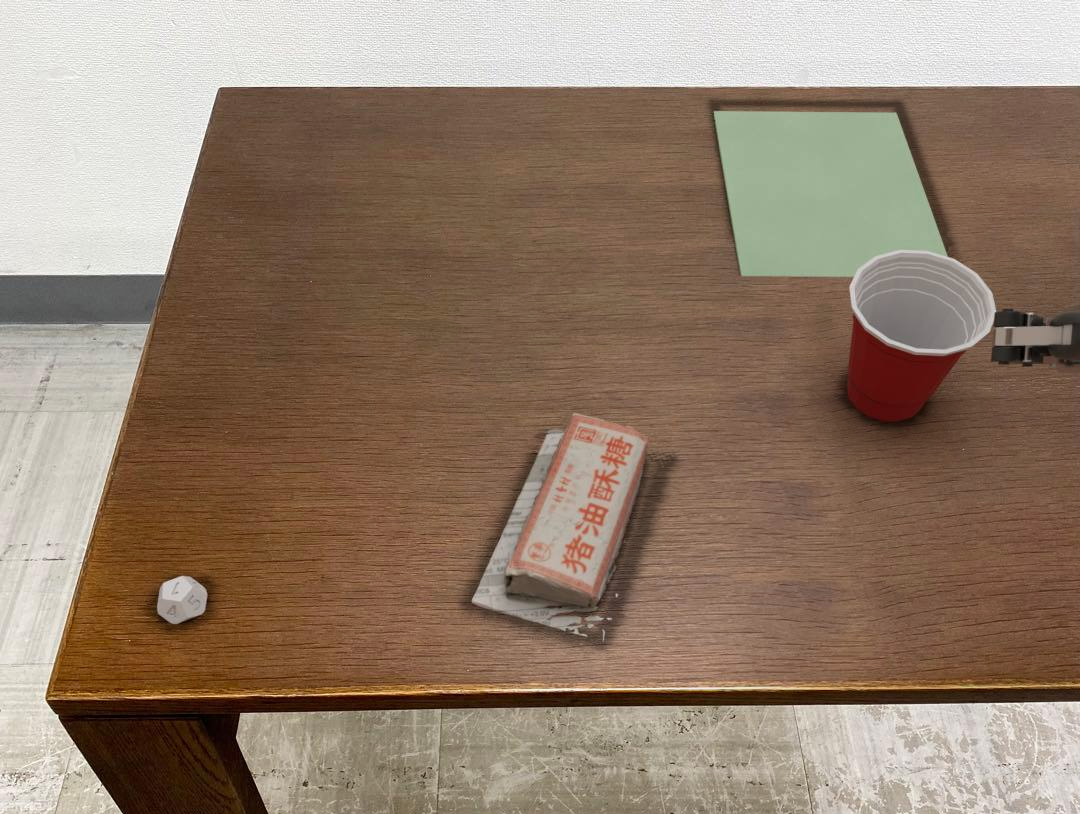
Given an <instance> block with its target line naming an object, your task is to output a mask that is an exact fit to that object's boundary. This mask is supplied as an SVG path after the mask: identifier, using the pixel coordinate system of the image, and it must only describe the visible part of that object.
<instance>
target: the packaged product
mask: <svg viewBox="0 0 1080 814" xmlns="http://www.w3.org/2000/svg"><path fill="white" fill-rule="evenodd" d="M568 420H569V421H568V423H567V424H568V425H567V427H566V428H565V430H562V429H560V428H556V429H550V430H547V432H546V435H545V437H544V441H543V442H542V445H541V447H540V449H539V450H538V453H537V456H536V458H535V460H534V463H533V464H532V467H531V468H530V471H529V473H528V476H527V478H526V480H525V482H524V484H523V487H522V489H521V492H520V493H519V495H518V497H517V499H516V501H515V503H514V506H513V509H512V511H511V513H510V515H509V518H508V520H507V522H506V525H505V527H504V529H503V531H502V533H501V535H500V539H499V541H498V543H497V545H496V546H495V549H494V551H493V553H492V555H491V557H490V559H489V562H488V564H487V566H486V567H485V571H484V572H483V575H482V577H481V579H480V582H479V584H478V587H477V589H476V591H475V592H474V595H473V597H472V599H471V604H473V605H475V606H476V607H480V608H483V609H487V610H489V611H492V612H498V613H500V614H502V615H503V614H504V615H508V616H510V617H514V618H519V619H522V620H523V621H524V620H525V621H529V622H534V623H537V624H540V625H544V626H547V627H550V628H554V629H558V630H561V631H564V632H566V630H567V629H568V630H569V631H570V633H571V634H575V635H579V636H583V637H586V638H588V635H587V634H585V633H580V632H579V629H578V628H581V627H585V626H586V625H584V624H581V623H582V620H583V619H582V617H581V616H576V615H567V616H555V615H557V614H565V613H566V614H567V613H572V612H583V613H589V612H595V611H597V609H598V608H599V607H598V606H597V604H598V603H599V601H600V600H601V602H603V601H604V598H602V597H603V594H604V592H605V591H606V589H607V584H608V583H610V580H611V578H612V576H613V574H614V572H615V571H616V569H617V565H616V559H617V557H618V556H619V553H620V551H619V550H620V548H621V547H622V544H623V543H626V540H627V539H626V538H625V539H624V536H625V533H626V530H627V525H628V523H629V522H630V516H631V515H632V512H633V507H635V503H636V497H637V496H638V493H639V489H640V487H641V481H642V476H643V473H644V465H645V461H646V456H647V451H648V449H647V448H648V445H649V441H648V438H647V436H646V435H644V434H642V433H641V432H639V431H637V430H636V429H634V427H633V426H630V425H622V424H619V423H616V422H609V421H606V420H604V419H602V418H598V417H593V416H589V415H584V414H581V413H577V412H573V414H572V415H571V418H570V419H568ZM623 539H624V541H623ZM618 596H619V593H615V598H618ZM550 606H553V608H547V607H550ZM559 606H562V607H561V608H559ZM604 619H605V618H604V617H600V616H599V615H588V616H587V617H585V618H584V620H585V621H587V622H590V621H602V620H604ZM606 620H608V621H612V620H613V617H606ZM575 623H576V624H578V625H573V624H575ZM570 625H571V626H570ZM592 627H595V624H594V623H588V624H587V628H588V629H591V628H592ZM572 630H574V631H572ZM569 631H567V632H568V633H569ZM605 635H606V631H605V629H602V642H605Z"/></svg>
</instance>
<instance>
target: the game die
mask: <svg viewBox="0 0 1080 814" xmlns="http://www.w3.org/2000/svg"><path fill="white" fill-rule="evenodd" d="M158 592H159V593H158V598H157V603H156V605H157V606H156V609H157V615H159V616H160V617H162V618H163V619H164V620H166V621H167V622H168V623H170V624H171V625H179V624H180V623H183V622H185V621H188V620H191V619H194V618H196V617H200V616H201V615H203V614H204V612H205V611H206V607H207V599H208V592H207V589H206V588H205V587H204V586H203V585H202V584H200V583H199V582H198V581H197V580H195V579H194V578H193V577H191V576H187V575H180V576H177V577H175V578H173V579H170V580H167V581H165V582H162V584H161V586H160V587H159V591H158Z"/></svg>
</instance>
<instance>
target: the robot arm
mask: <svg viewBox="0 0 1080 814" xmlns="http://www.w3.org/2000/svg"><path fill="white" fill-rule="evenodd" d="M1044 320H1045V322H1044ZM990 362H993V363H997V364H998V365H1000V366H1001V365H1010V364H1013V365H1014V364H1015V365H1021V367H1027V368H1028V367H1030V368H1031V367H1033V365H1049V368H1056V370H1057V372H1058V373H1059V374H1080V303H1076V304H1075V303H1074V304H1070V305H1065V306H1064V307H1063V308H1062V310H1061V312H1059V313H1056V315H1053V316H1052V317H1050V318H1049V317H1048V318H1046V319H1044V317H1043V316H1040V315H1037V314H1036V313H1035V312H1023V311H1018V310H1017V311H1016V310H1014V308H1002V310H1001V311H996V312H995V313H994V321H993V328H992V339H991V355H990Z"/></svg>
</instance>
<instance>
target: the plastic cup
mask: <svg viewBox="0 0 1080 814" xmlns="http://www.w3.org/2000/svg"><path fill="white" fill-rule="evenodd" d="M848 290H849V299H850V306H851V311H852V332H851V339H850V347H849V358H848V367H847V369H848V377H847V384H846V390H847V396H848V399H849V400H850V402H851V403H852V405H853V406H854V408H856V409H857V410H858V411H860V412H861V413H863V414H864V415H866V416H867V417H869V418H873V419H876V420H879V421H881V422H897V423H898V422H901V421H905V420H908V419H911V418H913V417H914V416H915V415H916V414H918V413H919V412H920V411H921V409H922V408H923V407H924V405H925V404H926V402H927V401H928V400H929V398H931V397H932V396H933V395H934V393H935V392H936V391H937V389H938V388H939V387H940V385H941V384H942V383H943V381H944V380H945V378H946V377H947V376H948V374H949V373H950V372H951V370H952V369H953V368H954V366H955V365H956V364H957V362H958V361H959V360H960V359H961V357H962V356H963V355H964V354H965V353H966V352H967V351H968V350H970V349H971V348H972V347H974V346H975V345H976V344H977V343H978V342H980V341H981V340H982V339H984V338H985V337H986V336H987V335H988V334H989V333H990V332H991V330H992V327H993V325H994V313H995V312H997V308H996V303H995V299H994V295H993V292H992V290H991V289H990V288H989V286H988V285H987V284H986V282H985V281H984V280H983V279H982V277H981V276H980V275H979V274H978V273H977V272H976V271H974V270H972V269H971V268H969V267H967V266H966V265H965V264H963V263H962V262H960V261H958V260H957V259H955V258H953V257H949V256H948V257H946V256H943V255H940V254H936V253H933V252H930V251H919V250H897V251H893V252H890V253H886V254H882V255H878V256H875V257H874V258H872V259H871V260H870V261H868V262H867V263H865V264H864V265H863V266H861V267H860V268H859V269H858V270H857V272H856V274H855V276H854V277H852V281H851V282H850V285H849V289H848Z"/></svg>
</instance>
